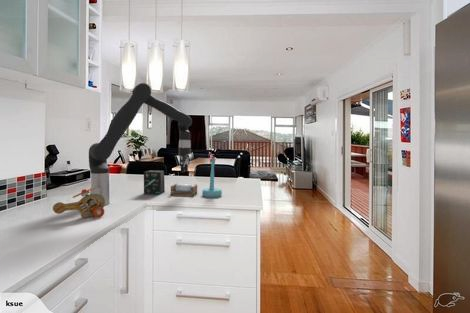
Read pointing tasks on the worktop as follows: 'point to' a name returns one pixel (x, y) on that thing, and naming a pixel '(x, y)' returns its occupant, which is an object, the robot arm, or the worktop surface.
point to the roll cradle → (179, 193)
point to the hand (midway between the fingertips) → (184, 171)
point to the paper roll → (184, 188)
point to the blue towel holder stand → (212, 185)
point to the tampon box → (154, 182)
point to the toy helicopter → (84, 205)
